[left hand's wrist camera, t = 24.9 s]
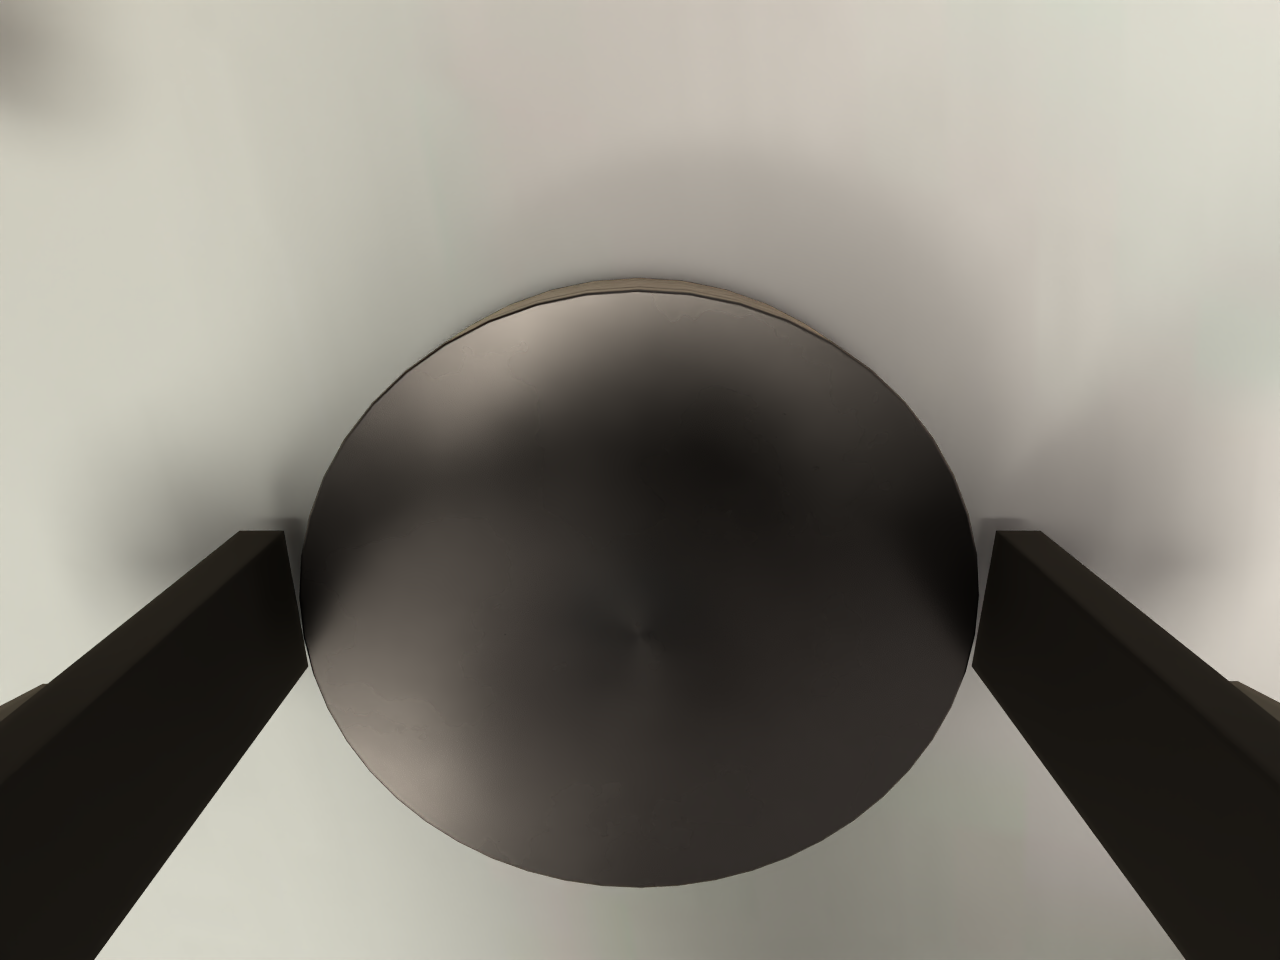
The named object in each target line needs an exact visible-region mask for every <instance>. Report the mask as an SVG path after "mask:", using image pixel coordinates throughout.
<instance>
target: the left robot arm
mask: <svg viewBox="0 0 1280 960" xmlns="http://www.w3.org/2000/svg"><path fill="white" fill-rule="evenodd" d="M307 667H308V662H307V656H306V651H305V645H304V640H303V634H302V629H301V623H300V618H299V612H298V607H297V601H296V596H295V590H294V585H293V579H292V574H291V568H290V563H289V557H288V552H287V546H286V541H285V535H284V531H239V532H238V533H236V534H235V535H234V536H233V537H231V538H230V539H229V540H228V541H226V542H225V543H224V544H222V545H221V546H220V547H219V548H217V549H216V550H215V551H214V552H212V553H211V554H210V555H209V556H207V557H206V558H205V559H204V560H202V561H201V562H200V563H199V564H197V565H196V566H195V567H194V568H192V569H191V570H190V571H189V572H187V573H186V574H185V575H184V576H182V577H181V578H180V579H179V580H177V581H176V582H175V583H174V584H172V585H171V586H170V587H169V588H167V589H166V590H165V591H164V592H162V593H161V594H160V595H159V596H157V597H156V598H155V599H154V600H152V601H151V602H150V603H149V604H147V605H146V606H145V607H143V608H142V609H141V610H140V611H138V612H137V613H136V614H135V615H133V616H132V617H131V618H130V619H128V620H127V621H126V622H125V623H123V624H122V625H121V626H120V627H118V628H117V629H116V630H115V631H113V632H112V633H111V634H110V635H108V636H107V637H106V638H105V639H103V640H102V641H101V642H100V643H98V644H97V645H96V646H95V647H93V648H92V649H91V650H90V651H88V652H87V653H86V654H85V655H83V656H82V657H81V658H80V659H78V660H77V661H76V662H75V663H73V664H72V665H71V666H70V667H68V668H67V669H66V670H65V671H63V672H62V673H61V674H59V675H58V676H57V677H56V678H54V679H53V680H52V681H51V682H49V683H48V684H42V685H40V686H38V687H36V688H34V689H32V690H30V691H28V692H26V693H24V694H22V695H21V696H19V697H17V698H15V699H13V700H11V701H9V702H7V703H5V704H3V705H1V706H0V960H94V959H95V958H96V957H97V955H98V954H99V952H100V951H101V950H102V948H103V947H104V946H105V944H106V943H107V941H108V940H109V939H110V937H111V936H112V935H113V933H114V932H115V930H116V929H117V928H118V926H119V925H120V924H121V922H122V921H123V920H124V918H125V917H126V915H127V914H128V913H129V911H130V910H131V909H132V907H133V906H134V904H135V903H136V902H137V900H138V899H139V898H140V896H141V895H142V893H143V892H144V891H145V889H146V888H147V887H148V885H149V884H150V883H151V881H152V880H153V878H154V877H155V876H156V874H157V873H158V872H159V870H160V869H161V867H162V866H163V865H164V863H165V862H166V861H167V859H168V858H169V856H170V855H171V854H172V852H173V851H174V850H175V848H176V847H177V845H178V844H179V843H180V841H181V840H182V839H183V837H184V836H185V835H186V833H187V832H188V830H189V829H190V828H191V826H192V825H193V824H194V822H195V821H196V819H197V818H198V817H199V815H200V814H201V813H202V811H203V810H204V808H205V807H206V806H207V804H208V803H209V802H210V800H211V799H212V798H213V796H214V795H215V793H216V792H217V791H218V789H219V788H220V787H221V785H222V784H223V782H224V781H225V780H226V778H227V777H228V776H229V774H230V773H231V771H232V770H233V769H234V767H235V766H236V765H237V763H238V762H239V761H240V759H241V758H242V756H243V755H244V754H245V752H246V751H247V750H248V748H249V747H250V745H251V744H252V743H253V741H254V740H255V739H256V737H257V736H258V734H259V733H260V732H261V730H262V729H263V728H264V726H265V725H266V724H267V722H268V721H269V719H270V718H271V717H272V715H273V714H274V713H275V711H276V710H277V708H278V707H279V706H280V704H281V703H282V702H283V700H284V699H285V697H286V696H287V695H288V693H289V692H290V691H291V689H292V688H293V686H294V685H295V684H296V682H297V681H298V680H299V678H300V677H301V676H302V674H303V673H304V671H305V670H306V669H307ZM972 667H973V669H974V670H975V671H976V673H977V674H978V676H979V677H980V678H981V680H982V681H983V682H984V684H985V685H986V686H987V688H988V689H989V691H990V692H991V693H992V695H993V696H994V697H995V699H996V700H997V702H998V703H999V704H1000V706H1001V707H1002V708H1003V710H1004V711H1005V713H1006V714H1007V715H1008V717H1009V718H1010V719H1011V721H1012V722H1013V723H1014V725H1015V726H1016V728H1017V729H1018V730H1019V732H1020V733H1021V734H1022V736H1023V737H1024V739H1025V740H1026V741H1027V743H1028V744H1029V745H1030V747H1031V748H1032V750H1033V751H1034V752H1035V754H1036V755H1037V756H1038V758H1039V759H1040V760H1041V762H1042V763H1043V765H1044V766H1045V767H1046V769H1047V770H1048V771H1049V773H1050V774H1051V776H1052V777H1053V778H1054V780H1055V781H1056V782H1057V784H1058V785H1059V787H1060V788H1061V789H1062V791H1063V792H1064V793H1065V795H1066V796H1067V798H1068V799H1069V800H1070V802H1071V803H1072V804H1073V806H1074V807H1075V808H1076V810H1077V811H1078V813H1079V814H1080V815H1081V817H1082V818H1083V819H1084V821H1085V822H1086V824H1087V825H1088V826H1089V828H1090V829H1091V830H1092V832H1093V833H1094V835H1095V836H1096V837H1097V839H1098V840H1099V841H1100V843H1101V844H1102V845H1103V847H1104V848H1105V850H1106V851H1107V852H1108V854H1109V855H1110V856H1111V858H1112V859H1113V861H1114V862H1115V863H1116V865H1117V866H1118V867H1119V869H1120V870H1121V872H1122V873H1123V874H1124V876H1125V877H1126V878H1127V880H1128V881H1129V882H1130V884H1131V885H1132V887H1133V888H1134V889H1135V891H1136V892H1137V893H1138V895H1139V896H1140V898H1141V899H1142V900H1143V902H1144V903H1145V904H1146V906H1147V907H1148V909H1149V910H1150V911H1151V913H1152V914H1153V915H1154V917H1155V918H1156V920H1157V921H1158V922H1159V924H1160V925H1161V926H1162V928H1163V929H1164V930H1165V932H1166V933H1167V935H1168V936H1169V937H1170V939H1171V940H1172V941H1173V943H1174V944H1175V946H1176V947H1177V948H1178V950H1179V951H1180V952H1181V954H1182V955H1183V957H1184V958H1185V959H1186V960H1280V703H1279V702H1277V701H1275V700H1273V699H1271V698H1269V697H1267V696H1266V695H1264V694H1262V693H1260V692H1258V691H1256V690H1254V689H1252V688H1250V687H1248V686H1246V685H1244V684H1242V683H1240V682H1238V681H1228V680H1227V679H1226V678H1224V677H1223V676H1222V675H1221V674H1219V673H1218V672H1217V671H1216V670H1214V669H1213V668H1212V667H1210V666H1209V665H1208V664H1207V663H1205V662H1204V661H1203V660H1202V659H1200V658H1199V657H1198V656H1197V655H1195V654H1194V653H1193V652H1192V651H1190V650H1189V649H1188V648H1187V647H1185V646H1184V645H1183V644H1182V643H1180V642H1179V641H1178V640H1177V639H1175V638H1174V637H1173V636H1172V635H1170V634H1169V633H1168V632H1167V631H1165V630H1164V629H1163V628H1162V627H1160V626H1159V625H1158V624H1157V623H1155V622H1154V621H1153V620H1152V619H1150V618H1149V617H1148V616H1147V615H1145V614H1144V613H1143V612H1142V611H1140V610H1139V609H1138V608H1137V607H1135V606H1134V605H1133V604H1131V603H1130V602H1129V601H1128V600H1126V599H1125V598H1124V597H1123V596H1121V595H1120V594H1119V593H1118V592H1116V591H1115V590H1114V589H1113V588H1111V587H1110V586H1109V585H1108V584H1106V583H1105V582H1104V581H1103V580H1101V579H1100V578H1099V577H1098V576H1096V575H1095V574H1094V573H1093V572H1091V571H1090V570H1089V569H1088V568H1086V567H1085V566H1084V565H1083V564H1081V563H1080V562H1079V561H1078V560H1076V559H1075V558H1074V557H1073V556H1071V555H1070V554H1069V553H1068V552H1066V551H1065V550H1064V549H1063V548H1061V547H1060V546H1059V545H1058V544H1056V543H1055V542H1054V541H1053V540H1051V539H1050V538H1049V537H1047V536H1046V535H1045V534H1044V533H1042V532H1041V531H996V535H995V541H994V546H993V552H992V557H991V563H990V568H989V574H988V579H987V585H986V590H985V596H984V601H983V607H982V612H981V618H980V623H979V629H978V634H977V640H976V645H975V651H974V656H973V662H972Z"/></svg>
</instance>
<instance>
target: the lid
mask: <svg viewBox="0 0 1280 960" xmlns="http://www.w3.org/2000/svg"><path fill="white" fill-rule="evenodd" d="M299 598H300V607H301V616H302V626H303V635H304V640H305V643H306V647H307V651H308V655H309V659H310V663H311V667H312V671H313V674H314V677H315V679H316V681H317V684H318V686H319V689H320V691H321V693H322V696H323V698H324V701H325V703H326V705H327V708H328V710H329V712H330V713H331V715H332V717H333V718H334V720H335V722H336V724H337V725H338V727H339V729H340V730H341V732H342V734H343V736H344V737H345V739H346V741H347V742H348V743H349V745H350V746H351V747H352V749H353V750H354V751H355V752H356V754H357V755H358V756H359V758H360V759H361V760H362V762H363V763H364V764H365V765H366V767H367V768H368V769H369V771H370V772H371V773H372V774H373V775H374V776H375V777H376V778H377V779H378V780H379V781H380V782H381V783H382V784H383V785H384V786H385V787H386V788H387V789H388V790H389V791H390V792H391V793H392V794H393V795H394V796H395V797H396V798H397V799H398V800H400V801H401V802H402V803H403V804H405V805H406V806H407V807H408V808H410V809H411V810H412V811H413V812H415V813H416V814H417V815H418V816H420V817H421V818H422V819H423V820H425V821H426V822H427V823H429V824H431V825H432V826H434V827H435V828H437V829H439V830H440V831H442V832H443V833H445V834H447V835H448V836H450V837H451V838H453V839H455V840H456V841H458V842H460V843H462V844H464V845H466V846H468V847H470V848H472V849H474V850H476V851H478V852H480V853H482V854H484V855H486V856H489V857H491V858H493V859H496V860H498V861H501V862H504V863H507V864H509V865H512V866H515V867H518V868H520V869H523V870H526V871H529V872H533V873H537V874H541V875H545V876H549V877H553V878H557V879H561V880H566V881H572V882H579V883H586V884H593V885H600V886H616V887H637V888H643V887H662V886H679V885H686V884H692V883H699V882H706V881H712V880H718V879H721V878H725V877H729V876H733V875H737V874H741V873H745V872H749V871H753V870H755V869H758V868H761V867H763V866H766V865H769V864H772V863H774V862H777V861H780V860H782V859H785V858H788V857H790V856H792V855H794V854H796V853H798V852H800V851H802V850H804V849H806V848H808V847H810V846H812V845H814V844H816V843H818V842H820V841H822V840H824V839H825V838H827V837H829V836H830V835H832V834H833V833H835V832H836V831H838V830H840V829H841V828H843V827H844V826H846V825H848V824H849V823H851V822H852V821H854V820H855V819H856V818H858V817H859V816H860V815H861V814H862V813H864V812H865V811H866V810H867V809H869V808H870V807H871V806H872V805H874V804H875V803H876V802H877V801H879V800H880V799H881V798H882V797H883V796H884V795H885V794H886V793H887V792H888V791H889V790H890V789H891V788H892V787H893V786H894V785H895V784H896V783H897V782H898V781H899V780H900V779H901V778H902V777H903V776H904V775H905V774H906V773H907V772H908V771H909V770H910V769H911V767H912V766H913V765H914V763H915V762H916V761H917V759H918V758H919V757H920V755H921V754H922V753H923V752H924V750H925V749H926V748H927V746H928V745H929V744H930V742H931V741H932V740H933V738H934V736H935V734H936V733H937V731H938V729H939V728H940V726H941V724H942V722H943V721H944V719H945V717H946V715H947V714H948V712H949V710H950V708H951V706H952V704H953V702H954V699H955V697H956V694H957V692H958V689H959V687H960V684H961V682H962V679H963V677H964V675H965V672H966V668H967V664H968V660H969V656H970V652H971V648H972V644H973V640H974V636H975V630H976V620H977V610H978V600H979V587H978V567H977V553H976V548H975V543H974V538H973V533H972V529H971V524H970V519H969V514H968V512H967V509H966V506H965V504H964V501H963V498H962V496H961V493H960V490H959V487H958V485H957V482H956V479H955V477H954V474H953V473H952V471H951V469H950V467H949V466H948V464H947V462H946V460H945V458H944V457H943V455H942V453H941V451H940V449H939V448H938V446H937V444H936V442H935V440H934V439H933V437H932V436H931V434H930V433H929V432H928V431H927V429H926V428H925V427H924V425H923V424H922V423H921V422H920V420H919V419H918V418H917V416H916V415H915V414H914V413H913V411H912V410H911V409H910V407H909V406H908V405H907V404H906V402H905V401H904V400H903V399H902V398H901V397H900V396H899V395H897V394H896V393H895V392H894V391H893V390H892V389H891V388H890V387H889V386H888V385H887V384H886V383H885V382H884V381H883V380H882V379H881V378H880V377H879V376H878V375H877V374H875V373H874V372H873V371H872V370H871V369H870V368H868V367H867V366H866V365H864V364H863V363H861V362H860V361H859V360H857V359H856V358H854V357H853V356H851V355H850V354H849V353H847V352H846V351H844V350H843V349H842V348H840V347H839V346H837V345H836V344H835V343H833V342H832V341H830V340H829V339H827V338H826V337H824V336H823V335H821V334H820V333H818V332H817V331H815V330H814V329H812V328H811V327H809V326H808V325H806V324H805V323H803V322H801V321H799V320H797V319H795V318H793V317H791V316H789V315H787V314H785V313H783V312H781V311H779V310H777V309H775V308H774V307H772V306H770V305H768V304H765V303H762V302H760V301H757V300H754V299H751V298H748V297H745V296H743V295H740V294H737V293H734V292H731V291H728V290H725V289H720V288H715V287H710V286H706V285H701V284H696V283H691V282H686V281H678V280H662V279H647V278H630V279H616V280H602V281H592V282H587V283H582V284H578V285H573V286H568V287H563V288H559V289H554V290H550V291H547V292H544V293H541V294H539V295H536V296H533V297H530V298H527V299H525V300H522V301H519V302H516V303H513V304H511V305H509V306H507V307H505V308H503V309H501V310H499V311H497V312H495V313H493V314H491V315H489V316H488V317H486V318H484V319H482V320H480V321H478V322H476V323H474V324H472V325H471V326H469V327H468V328H466V329H465V330H463V331H462V332H460V333H459V334H457V335H456V336H454V337H453V338H451V339H450V340H448V341H447V342H445V343H444V344H442V345H441V346H439V347H438V348H437V349H435V350H434V351H432V352H431V353H430V354H428V355H427V356H425V357H424V358H423V359H421V360H420V361H419V362H417V363H416V364H414V365H413V366H412V367H410V368H409V369H407V370H406V371H405V372H404V373H403V374H402V375H401V376H400V377H399V378H398V379H397V380H395V381H394V382H393V383H392V384H391V385H390V386H389V387H388V388H387V389H386V390H385V391H384V392H383V393H382V394H381V395H380V396H379V397H378V398H377V399H376V400H375V401H374V402H373V403H372V404H371V405H370V406H369V408H368V409H367V410H366V412H365V413H364V414H363V416H362V417H361V418H360V419H359V421H358V422H357V423H356V425H355V426H354V427H353V429H352V430H351V431H350V432H349V434H348V435H347V436H346V438H345V439H344V441H343V443H342V444H341V446H340V448H339V450H338V452H337V454H336V455H335V457H334V459H333V461H332V463H331V464H330V466H329V468H328V470H327V472H326V474H325V475H324V477H323V480H322V483H321V485H320V488H319V491H318V494H317V496H316V499H315V502H314V505H313V507H312V510H311V513H310V516H309V520H308V525H307V530H306V535H305V540H304V545H303V550H302V555H301V573H300V596H299Z"/></svg>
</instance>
